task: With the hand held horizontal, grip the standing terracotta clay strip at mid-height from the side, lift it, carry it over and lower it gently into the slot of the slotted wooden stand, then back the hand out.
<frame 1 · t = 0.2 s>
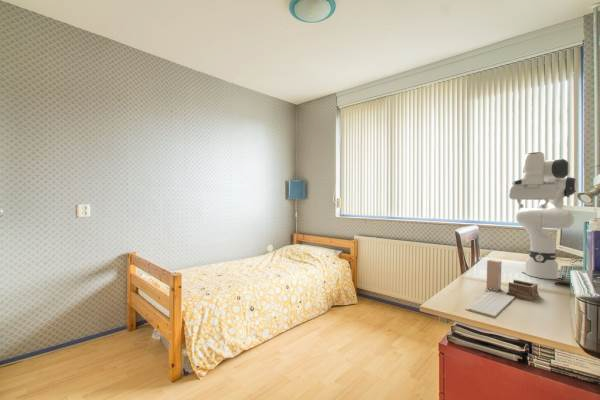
hand: (532, 208, 155), 40 cm above the table, tool pointing down, fingers open, 8 cm apart
clay strip: (493, 288, 148), on the table
slotted wooden stand: (522, 295, 138), on the table
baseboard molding: (489, 305, 128), on the table
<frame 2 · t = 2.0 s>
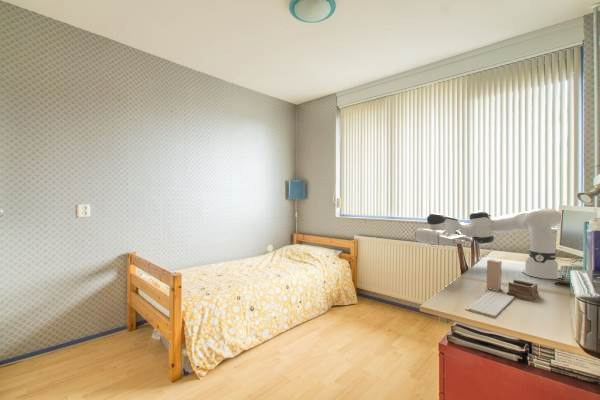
hand: (468, 241, 157), 22 cm above the table, tool horizontal, fingers open, 8 cm apart
nothing on the table moved.
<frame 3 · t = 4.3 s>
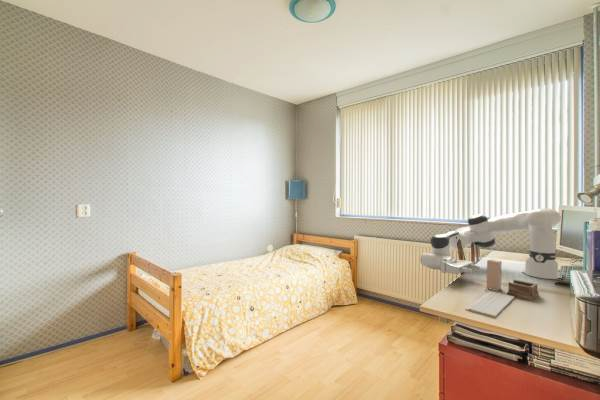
hand: (476, 269, 154), 8 cm above the table, tool horizontal, fingers open, 8 cm apart
nothing on the table moved.
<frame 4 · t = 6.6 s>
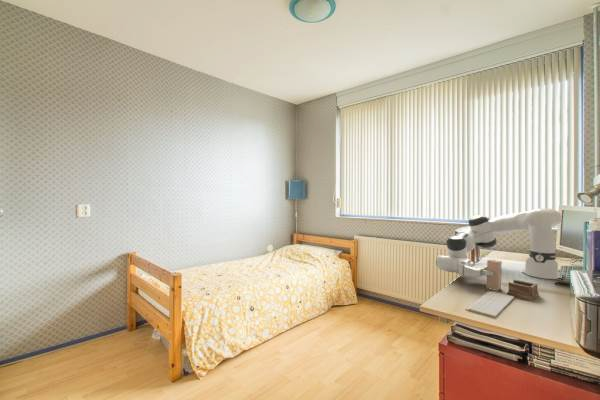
hand: (496, 272, 147), 8 cm above the table, tool horizontal, fingers closed on clay strip, 4 cm apart
clay strip: (493, 288, 148), on the table, touching gripper
everything else where it was.
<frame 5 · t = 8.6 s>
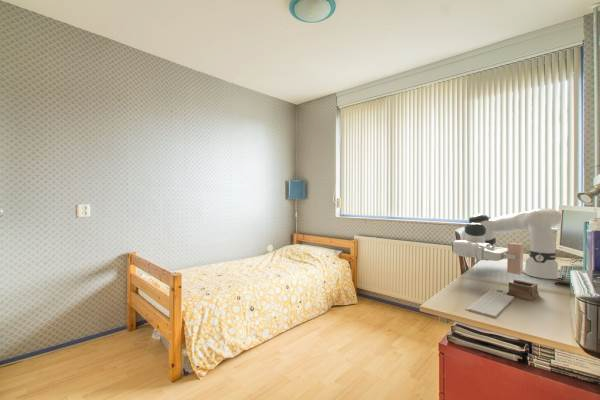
hand: (517, 256, 140), 18 cm above the table, tool horizontal, fingers closed on clay strip, 4 cm apart
clay strip: (514, 272, 141), point 10 cm above the table, touching gripper
everything else where it was.
when the fingers open (11 cm above the table, at t = 10.9 s): clay strip drops 1 cm, resting on slotted wooden stand.
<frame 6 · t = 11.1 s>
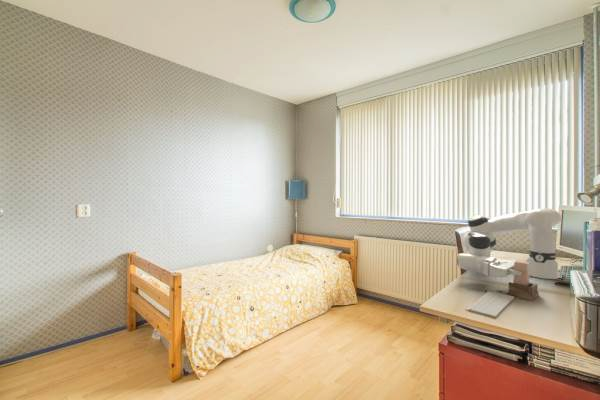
hand: (524, 272, 138), 11 cm above the table, tool horizontal, fingers open, 6 cm apart
clay strip: (521, 291, 139), point 2 cm above the table, touching slotted wooden stand
everything else where it was.
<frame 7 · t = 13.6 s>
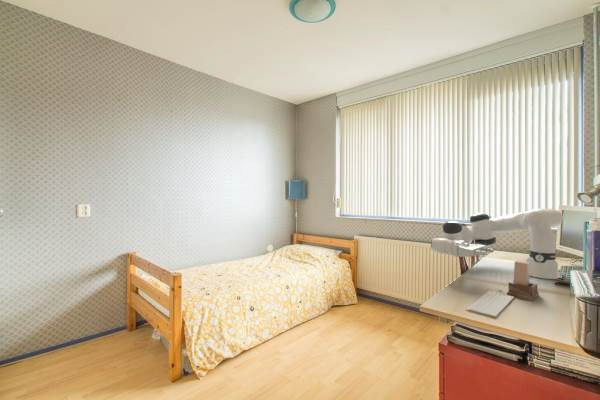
hand: (489, 252, 149), 18 cm above the table, tool horizontal, fingers open, 8 cm apart
nothing on the table moved.
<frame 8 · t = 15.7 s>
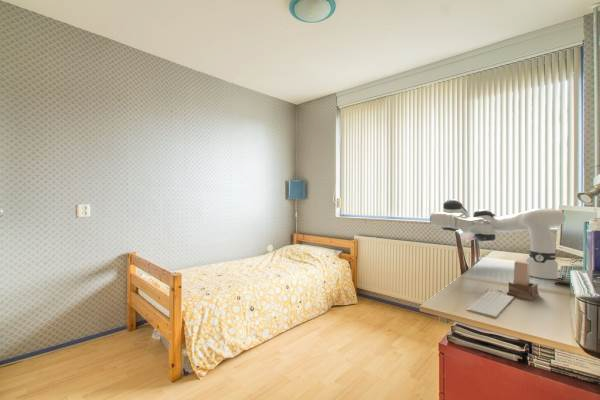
hand: (487, 223, 153), 32 cm above the table, tool horizontal, fingers open, 8 cm apart
nothing on the table moved.
at the end: clay strip 0.0 cm off-centre on the slotted wooden stand, point 1.5 cm above the slotted wooden stand's base; clay strip tilted 0°; the gripper is holding nothing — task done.
